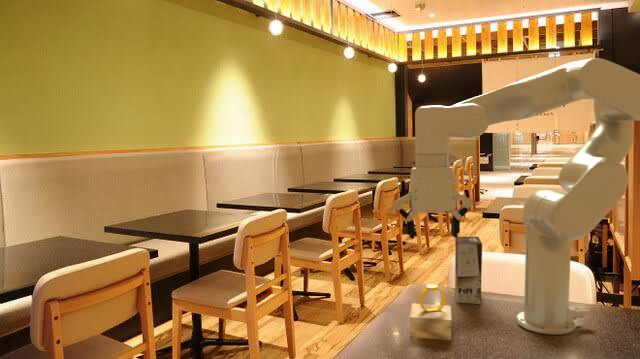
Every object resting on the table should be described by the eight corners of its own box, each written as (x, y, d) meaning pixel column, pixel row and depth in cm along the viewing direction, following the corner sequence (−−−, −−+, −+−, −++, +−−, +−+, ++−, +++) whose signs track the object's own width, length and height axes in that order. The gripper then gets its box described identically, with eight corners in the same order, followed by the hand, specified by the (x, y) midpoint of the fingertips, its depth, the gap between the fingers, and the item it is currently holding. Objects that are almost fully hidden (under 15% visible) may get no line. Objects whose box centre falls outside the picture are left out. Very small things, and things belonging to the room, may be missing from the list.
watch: (423, 315, 117) (421, 289, 117) (418, 311, 120) (416, 286, 119) (447, 310, 119) (446, 285, 118) (442, 306, 121) (440, 282, 121)
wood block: (450, 325, 123) (450, 305, 122) (451, 341, 114) (451, 319, 114) (412, 323, 125) (412, 303, 124) (409, 338, 116) (409, 317, 116)
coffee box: (481, 304, 135) (482, 243, 134) (456, 303, 137) (457, 243, 135) (478, 292, 144) (479, 236, 142) (454, 291, 146) (455, 235, 144)
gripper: (467, 159, 119) (466, 232, 121) (391, 161, 119) (392, 234, 121) (476, 161, 112) (476, 239, 114) (396, 164, 112) (397, 241, 114)
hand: (432, 236), depth 117 cm, fingers open, 9 cm apart
